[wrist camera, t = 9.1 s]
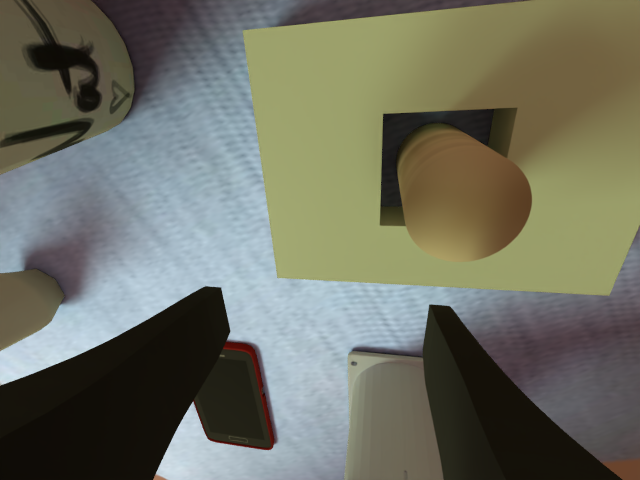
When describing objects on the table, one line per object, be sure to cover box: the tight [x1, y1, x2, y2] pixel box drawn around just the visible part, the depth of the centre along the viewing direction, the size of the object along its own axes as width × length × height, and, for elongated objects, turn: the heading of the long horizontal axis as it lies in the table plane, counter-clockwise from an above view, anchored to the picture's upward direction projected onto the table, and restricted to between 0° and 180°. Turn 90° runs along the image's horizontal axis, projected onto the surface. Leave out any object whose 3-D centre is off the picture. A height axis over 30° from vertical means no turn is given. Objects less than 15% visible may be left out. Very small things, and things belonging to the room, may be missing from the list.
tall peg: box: [396, 123, 532, 262], centre depth 14 cm, size 4×4×8 cm
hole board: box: [243, 0, 640, 296], centre depth 16 cm, size 13×18×3 cm
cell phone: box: [193, 342, 274, 450], centre depth 31 cm, size 8×15×1 cm, turn 4°
